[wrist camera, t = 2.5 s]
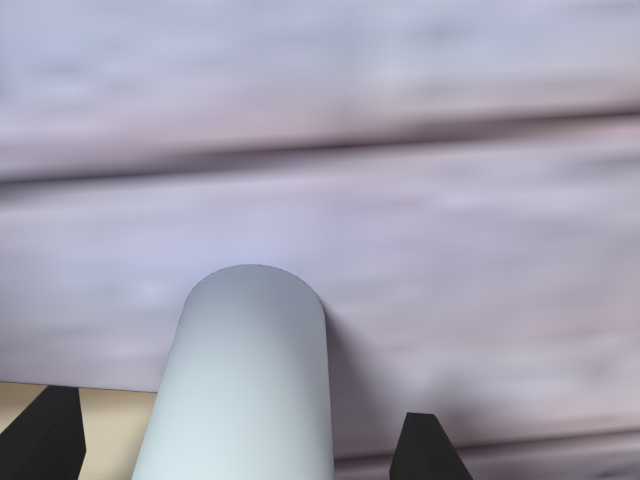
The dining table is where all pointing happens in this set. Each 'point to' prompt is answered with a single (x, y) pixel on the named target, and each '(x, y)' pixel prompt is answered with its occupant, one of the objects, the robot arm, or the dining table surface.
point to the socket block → (95, 425)
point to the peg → (244, 384)
